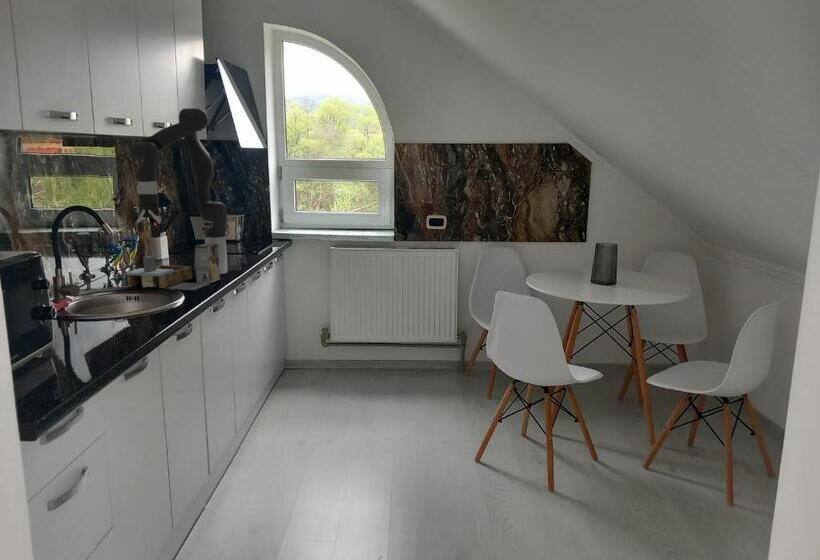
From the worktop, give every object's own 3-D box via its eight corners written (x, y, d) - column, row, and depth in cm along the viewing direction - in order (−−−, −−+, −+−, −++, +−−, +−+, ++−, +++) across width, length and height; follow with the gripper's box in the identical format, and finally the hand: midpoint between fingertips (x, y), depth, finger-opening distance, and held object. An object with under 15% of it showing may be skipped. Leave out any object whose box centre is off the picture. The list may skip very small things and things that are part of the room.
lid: (141, 270, 271) (140, 254, 269) (173, 271, 268) (172, 255, 267) (125, 274, 260) (124, 258, 259) (159, 276, 257) (158, 259, 256)
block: (149, 285, 268) (148, 273, 267) (160, 285, 267) (159, 274, 266) (142, 287, 263) (141, 275, 262) (153, 288, 262) (152, 276, 261)
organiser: (161, 277, 286) (160, 265, 285) (192, 278, 283) (191, 266, 282) (128, 287, 262) (127, 274, 261) (161, 289, 259) (160, 275, 258)
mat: (183, 283, 271) (183, 282, 271) (209, 284, 269) (209, 283, 269) (167, 289, 259) (167, 287, 259) (194, 290, 257) (194, 289, 257)
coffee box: (207, 279, 281) (205, 243, 278) (220, 279, 280) (218, 243, 277) (196, 283, 273) (194, 246, 270) (209, 283, 271) (207, 246, 268)
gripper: (169, 192, 258) (172, 231, 261) (136, 192, 260) (140, 231, 263) (159, 193, 251) (162, 234, 254) (126, 193, 253) (129, 233, 256)
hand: (151, 232), depth 259 cm, fingers open, 8 cm apart
